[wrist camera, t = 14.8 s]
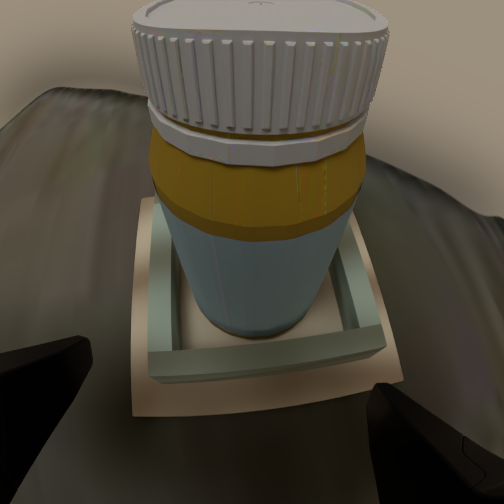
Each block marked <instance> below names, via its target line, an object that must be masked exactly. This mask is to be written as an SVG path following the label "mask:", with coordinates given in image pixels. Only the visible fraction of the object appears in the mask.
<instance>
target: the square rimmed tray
mask: <svg viewBox="0 0 504 504" xmlns="http://www.w3.org/2000/svg"><path fill="white" fill-rule="evenodd" d="M403 380H404V379H403V374H402V370H401V366H400V361H399V357H398V353H397V349H396V345H395V341H394V337H393V334H392V330H391V326H390V323H389V319H388V315H387V312H386V308H385V305H384V302H383V298H382V295H381V292H380V288H379V285H378V282H377V279H376V276H375V273H374V269H373V266H372V263H371V260H370V257H369V255H368V252H367V249H366V246H365V243H364V240H363V237H362V235H361V232H360V229H359V226H358V224H357V221H356V218H355V216H354V213H353V210H352V212H351V215H350V217H349V220H348V222H347V225H346V227H345V230H344V232H343V234H342V237H341V239H340V242H339V244H338V247H337V249H336V251H335V254H334V256H333V258H332V261H331V263H330V265H329V268H328V270H327V272H326V275H325V277H324V279H323V281H322V284H321V286H320V288H319V290H318V293H317V295H316V297H315V299H314V301H313V303H312V305H311V306H310V308H309V310H308V312H307V313H306V315H305V316H304V318H303V319H302V320H301V321H300V322H298V323H297V324H296V325H295V326H294V327H293V328H292V329H290V330H288V331H287V332H284V333H282V334H279V335H277V336H275V337H271V338H266V339H254V340H251V339H244V338H239V337H235V336H231V335H229V334H227V333H225V332H223V331H222V330H220V329H218V328H217V327H215V326H214V325H212V324H211V323H210V322H209V320H208V319H207V318H206V317H205V316H204V314H203V313H202V312H201V310H200V309H199V307H198V305H197V303H196V301H195V298H194V296H193V293H192V290H191V288H190V285H189V283H188V280H187V277H186V275H185V272H184V269H183V267H182V264H181V261H180V259H179V256H178V253H177V251H176V248H175V245H174V242H173V239H172V237H171V234H170V231H169V228H168V225H167V222H166V219H165V217H164V214H163V211H162V208H161V205H160V202H159V199H158V196H157V193H156V190H155V197H148V198H142V200H141V208H140V216H139V224H138V233H137V243H136V253H135V265H134V279H133V295H132V318H131V392H132V414H133V416H135V417H184V416H206V415H221V414H233V413H244V412H253V411H261V410H269V409H277V408H284V407H290V406H296V405H302V404H308V403H314V402H319V401H324V400H329V399H334V398H339V397H343V396H348V395H352V394H356V393H360V392H365V391H368V390H372V389H373V387H374V385H375V384H376V383H377V382H387V383H390V384H394V383H398V382H401V381H403Z"/></svg>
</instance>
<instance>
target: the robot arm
mask: <svg viewBox="0 0 504 504" xmlns="http://www.w3.org/2000/svg"><path fill="white" fill-rule="evenodd" d="M92 364H93V357H92V350H91V343H90V340H89V339H88V338H86V337H83V336H80V335H77V336H73V337H69V338H65V339H61V340H56V341H52V342H48V343H44V344H39V345H35V346H31V347H26V348H22V349H18V350H13V351H9V352H4V353H0V504H10V502H11V500H12V499H13V497H14V495H15V493H16V492H17V490H18V489H17V488H19V486H20V484H21V483H22V481H23V479H24V478H25V476H26V474H27V473H28V471H29V469H30V468H31V466H32V464H33V463H34V461H35V459H36V458H37V456H38V454H39V453H40V451H41V450H42V448H43V446H44V445H45V443H46V442H47V440H48V439H49V437H50V435H51V434H52V432H53V431H54V429H55V428H56V426H57V425H58V423H59V422H60V420H61V418H62V417H63V415H64V414H65V412H66V411H67V409H68V408H69V406H70V405H71V403H72V402H73V400H74V399H75V397H76V395H77V393H78V391H79V389H80V387H81V386H82V384H83V382H84V380H85V378H86V376H87V374H88V372H89V371H90V369H91V367H92ZM366 412H367V422H368V434H369V446H370V453H371V458H372V463H373V469H374V474H375V479H376V484H377V490H378V496H379V501H380V504H504V459H503V458H501V457H499V456H497V455H495V454H493V453H491V452H490V451H488V450H486V449H484V448H483V447H481V446H480V445H478V444H476V443H475V442H473V441H472V440H470V439H469V438H467V437H466V436H463V434H461V433H460V432H458V431H457V430H456V429H454V428H453V427H451V426H450V425H448V424H447V423H445V422H444V421H442V420H441V419H439V418H438V417H437V416H435V415H434V414H432V413H431V412H429V411H428V410H426V409H425V408H424V407H422V406H421V405H419V404H418V403H416V402H415V401H414V400H412V399H411V398H409V397H408V396H406V395H405V394H404V393H402V392H401V391H399V390H398V389H397V388H395V387H394V386H392V385H391V384H390V383H387V382H377V383H376V384H375V385H374V387H373V389H372V392H371V394H370V397H369V400H368V402H367V407H366Z"/></svg>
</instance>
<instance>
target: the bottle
mask: <svg viewBox="0 0 504 504" xmlns="http://www.w3.org/2000/svg"><path fill="white" fill-rule="evenodd" d="M131 29H132V35H133V40H134V45H135V50H136V55H137V60H138V65H139V70H140V74H141V79H142V84H143V88H144V90H145V94H146V95H147V96H148V108H149V112H150V116H151V120H152V123H153V131H152V137H151V143H150V150H149V165H150V169H151V173H152V178H153V182H154V185H155V189H156V193H157V196H158V199H159V202H160V205H161V208H162V211H163V214H164V217H165V219H166V222H167V225H168V228H169V231H170V234H171V237H172V239H173V242H174V245H175V248H176V251H177V253H178V256H179V259H180V261H181V264H182V267H183V269H184V272H185V275H186V277H187V280H188V283H189V285H190V288H191V290H192V293H193V296H194V298H195V301H196V303H197V305H198V307H199V309H200V310H201V312H202V313H203V314H204V316H205V317H206V318H207V319H208V320H209V322H210V323H211V324H212V325H214V326H215V327H217V328H218V329H220V330H222V331H223V332H225V333H227V334H229V335H231V336H235V337H239V338H244V339H251V340H254V339H266V338H271V337H275V336H277V335H279V334H282V333H284V332H287V331H288V330H290V329H292V328H293V327H294V326H295V325H296V324H297V323H298V322H300V321H301V320H302V319H303V318H304V316H305V315H306V313H307V312H308V310H309V308H310V306H311V305H312V303H313V301H314V299H315V297H316V295H317V293H318V290H319V288H320V286H321V284H322V281H323V279H324V277H325V275H326V272H327V270H328V268H329V265H330V263H331V261H332V258H333V256H334V254H335V251H336V249H337V247H338V244H339V242H340V239H341V237H342V234H343V232H344V230H345V227H346V225H347V222H348V220H349V217H350V215H351V212H352V209H353V207H354V204H355V202H356V199H357V197H358V194H359V191H360V189H361V184H362V181H363V178H364V175H365V171H366V153H365V144H364V135H363V129H364V125H365V122H366V118H367V114H368V110H369V105H370V102H372V100H373V97H374V95H375V91H376V87H377V84H378V80H379V76H380V72H381V68H382V63H383V60H384V55H385V51H386V47H387V43H388V39H389V30H388V21H387V19H386V18H385V17H384V16H383V15H381V14H380V13H379V12H377V11H375V10H374V9H372V8H370V7H368V6H365V5H363V4H361V3H358V2H356V1H353V0H156V1H154V2H152V3H149V4H147V5H145V6H144V7H142V8H141V9H139V10H138V11H136V12H135V14H134V15H133V24H132V27H131Z"/></svg>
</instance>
